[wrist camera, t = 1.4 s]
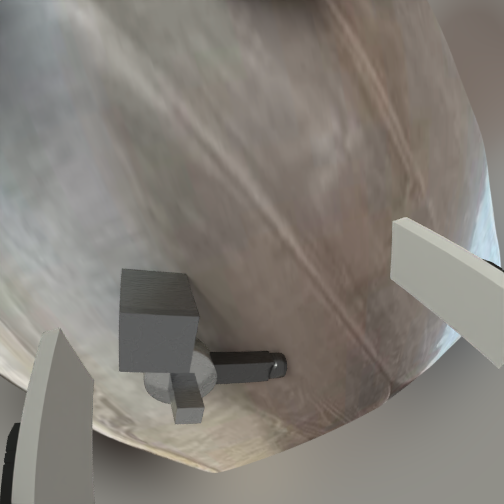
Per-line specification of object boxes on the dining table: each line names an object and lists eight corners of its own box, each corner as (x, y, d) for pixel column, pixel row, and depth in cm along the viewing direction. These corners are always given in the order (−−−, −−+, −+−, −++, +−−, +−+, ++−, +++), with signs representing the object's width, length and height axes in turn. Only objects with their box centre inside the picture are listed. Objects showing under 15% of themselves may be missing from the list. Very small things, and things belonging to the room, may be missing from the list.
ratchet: (141, 381, 40) (148, 438, 32) (143, 331, 37) (149, 390, 29) (268, 378, 47) (292, 425, 39) (284, 332, 44) (316, 380, 36)
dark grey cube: (119, 322, 35) (119, 371, 28) (121, 268, 32) (119, 312, 25) (177, 325, 37) (189, 373, 30) (185, 273, 35) (199, 316, 28)
